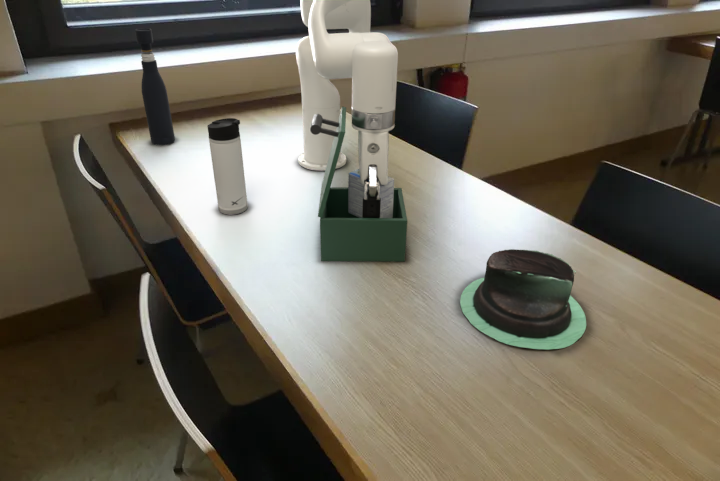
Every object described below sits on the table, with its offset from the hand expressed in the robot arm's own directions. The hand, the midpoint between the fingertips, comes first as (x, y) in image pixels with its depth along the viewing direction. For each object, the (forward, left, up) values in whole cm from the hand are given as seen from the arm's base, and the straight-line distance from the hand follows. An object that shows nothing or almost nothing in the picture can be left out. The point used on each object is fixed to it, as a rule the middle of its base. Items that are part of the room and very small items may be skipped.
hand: (370, 205), depth 101 cm
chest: (0, -1, -8) cm, 8 cm away
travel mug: (-14, -29, -8) cm, 33 cm away
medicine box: (0, 0, -3) cm, 3 cm away
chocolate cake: (+21, +25, -8) cm, 33 cm away
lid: (0, -7, +9) cm, 11 cm away
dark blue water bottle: (-55, -57, -8) cm, 80 cm away
